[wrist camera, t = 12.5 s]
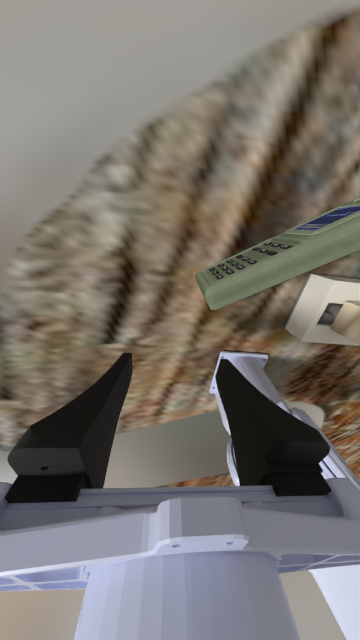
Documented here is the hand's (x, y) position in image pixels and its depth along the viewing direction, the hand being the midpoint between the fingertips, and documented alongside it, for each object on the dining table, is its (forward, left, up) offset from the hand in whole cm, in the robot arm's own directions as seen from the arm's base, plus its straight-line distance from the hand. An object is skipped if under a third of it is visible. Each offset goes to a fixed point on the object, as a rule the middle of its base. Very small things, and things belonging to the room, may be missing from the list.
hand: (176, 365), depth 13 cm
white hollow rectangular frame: (+3, -24, -10) cm, 26 cm away
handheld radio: (+11, -13, -11) cm, 20 cm away
